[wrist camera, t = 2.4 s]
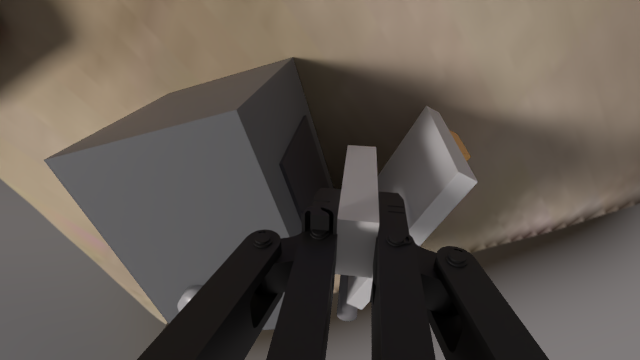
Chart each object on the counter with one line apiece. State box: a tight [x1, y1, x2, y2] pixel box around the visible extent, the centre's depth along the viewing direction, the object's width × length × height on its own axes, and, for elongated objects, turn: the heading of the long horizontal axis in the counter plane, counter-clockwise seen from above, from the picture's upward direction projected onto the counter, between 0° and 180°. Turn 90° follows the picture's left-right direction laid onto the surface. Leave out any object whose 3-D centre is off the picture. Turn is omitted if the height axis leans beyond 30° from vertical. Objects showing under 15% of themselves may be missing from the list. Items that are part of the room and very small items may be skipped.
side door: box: [337, 106, 478, 321], centre depth 21 cm, size 12×2×9 cm, turn 154°
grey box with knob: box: [44, 57, 334, 330], centre depth 22 cm, size 15×10×12 cm
